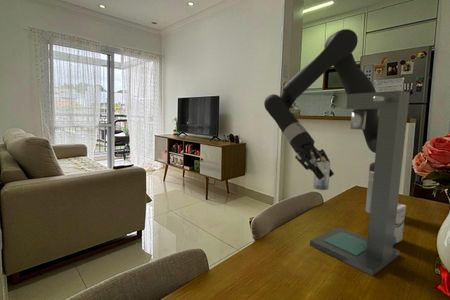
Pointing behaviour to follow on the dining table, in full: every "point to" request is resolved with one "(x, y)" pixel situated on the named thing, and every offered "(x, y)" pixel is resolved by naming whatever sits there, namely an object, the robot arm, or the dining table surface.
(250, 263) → the dining table surface
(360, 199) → the dining table surface
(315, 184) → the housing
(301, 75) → the robot arm
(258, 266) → the dining table surface
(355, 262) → the press
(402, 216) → the ink box
